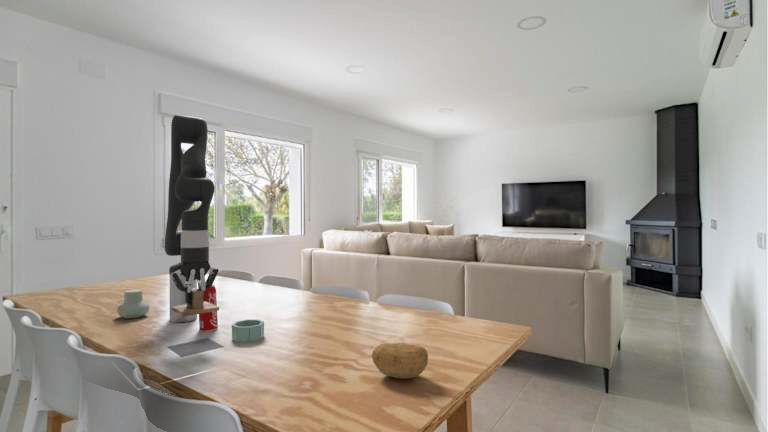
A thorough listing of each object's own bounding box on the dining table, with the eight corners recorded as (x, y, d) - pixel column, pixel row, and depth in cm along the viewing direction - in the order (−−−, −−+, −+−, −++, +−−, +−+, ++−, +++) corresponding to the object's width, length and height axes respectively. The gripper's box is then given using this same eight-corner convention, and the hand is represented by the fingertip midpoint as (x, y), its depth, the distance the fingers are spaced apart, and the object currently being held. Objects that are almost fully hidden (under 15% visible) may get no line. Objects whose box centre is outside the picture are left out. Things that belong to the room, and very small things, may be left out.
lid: (171, 309, 121) (171, 289, 120) (205, 304, 128) (205, 285, 128) (183, 316, 114) (183, 295, 113) (219, 310, 121) (219, 290, 120)
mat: (166, 348, 121) (166, 346, 121) (207, 339, 129) (207, 337, 129) (181, 358, 112) (181, 356, 112) (224, 348, 121) (224, 346, 121)
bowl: (228, 339, 129) (228, 323, 129) (254, 333, 136) (254, 318, 135) (241, 345, 123) (241, 329, 123) (268, 339, 129) (268, 323, 129)
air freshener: (152, 316, 157) (152, 290, 157) (129, 321, 150) (129, 294, 150) (137, 312, 163) (137, 287, 163) (114, 317, 156) (114, 291, 156)
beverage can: (211, 333, 135) (210, 288, 135) (193, 332, 137) (193, 287, 137) (221, 328, 141) (221, 284, 141) (204, 327, 143) (204, 284, 142)
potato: (379, 366, 107) (379, 335, 106) (432, 373, 102) (432, 341, 102) (365, 380, 97) (365, 347, 97) (422, 389, 93) (422, 354, 93)
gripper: (213, 243, 128) (213, 298, 128) (165, 246, 118) (165, 305, 118) (223, 245, 122) (223, 302, 123) (174, 248, 113) (174, 310, 113)
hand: (195, 303), depth 121 cm, fingers closed on lid, 2 cm apart
